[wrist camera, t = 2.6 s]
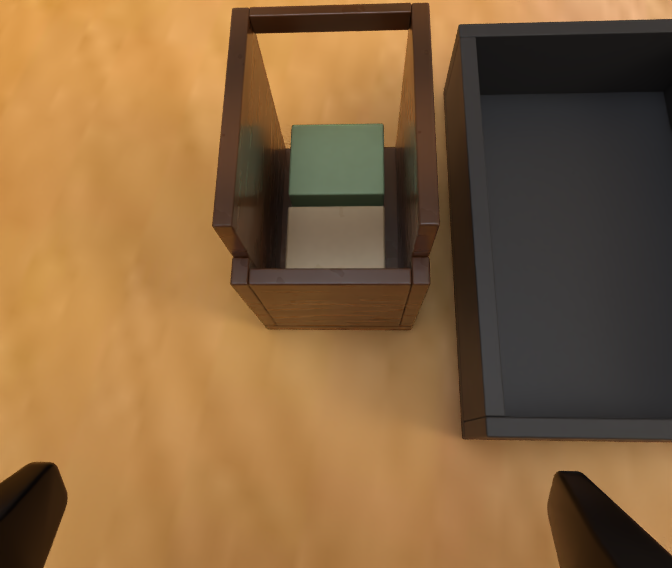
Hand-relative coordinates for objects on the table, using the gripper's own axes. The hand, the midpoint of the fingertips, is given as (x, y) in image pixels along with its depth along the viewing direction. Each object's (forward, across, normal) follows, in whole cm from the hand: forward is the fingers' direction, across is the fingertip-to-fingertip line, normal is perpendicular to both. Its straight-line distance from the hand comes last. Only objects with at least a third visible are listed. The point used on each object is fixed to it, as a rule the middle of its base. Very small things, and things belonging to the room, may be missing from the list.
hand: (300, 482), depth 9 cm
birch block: (+15, 0, +3) cm, 15 cm away
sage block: (+18, 0, 0) cm, 18 cm away
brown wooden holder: (+17, 0, +2) cm, 17 cm away
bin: (+16, -11, +3) cm, 20 cm away
